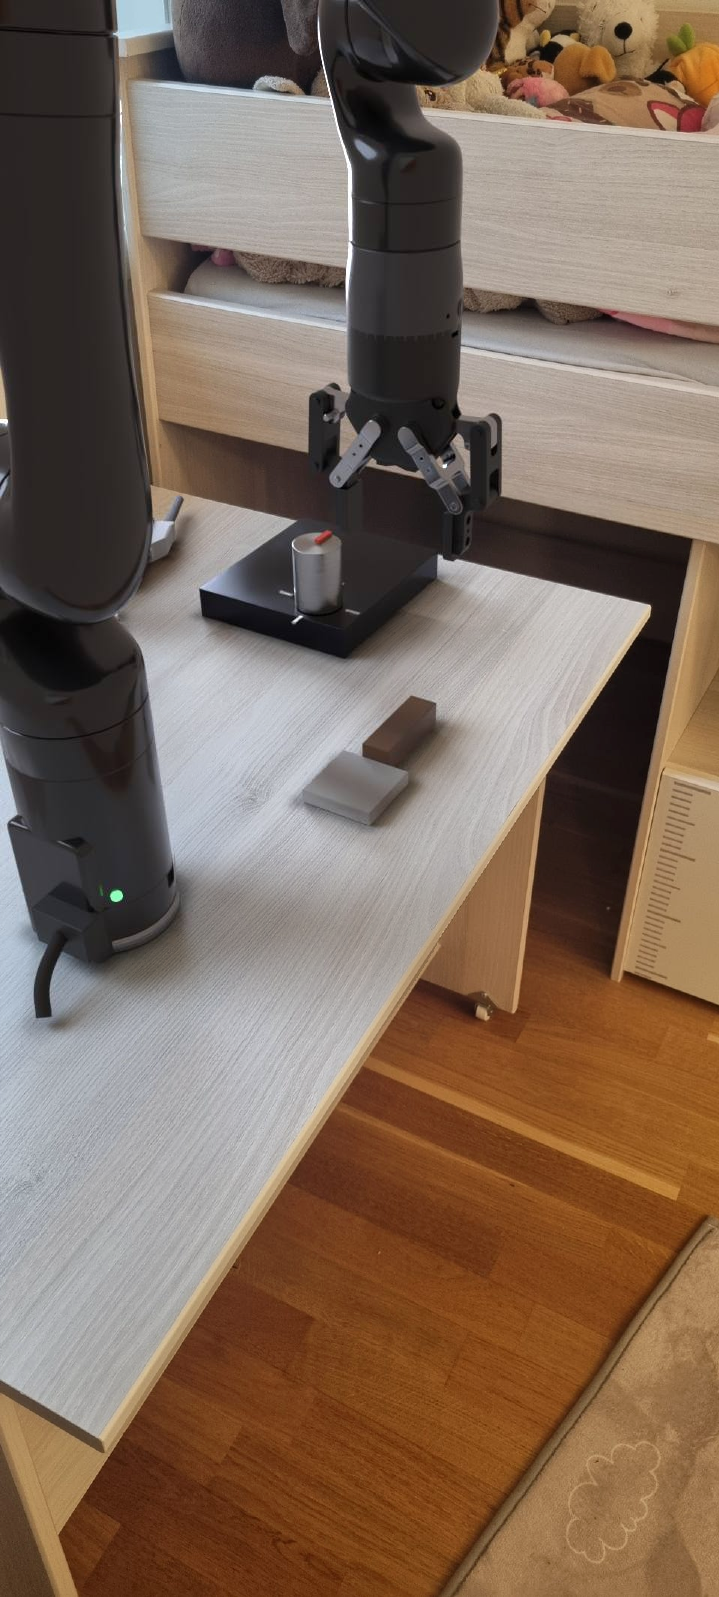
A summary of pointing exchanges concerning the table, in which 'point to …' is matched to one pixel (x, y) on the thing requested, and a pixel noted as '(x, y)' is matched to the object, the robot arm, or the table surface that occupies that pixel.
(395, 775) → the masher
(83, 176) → the robot arm
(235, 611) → the hob
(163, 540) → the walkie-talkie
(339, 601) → the hob knob
